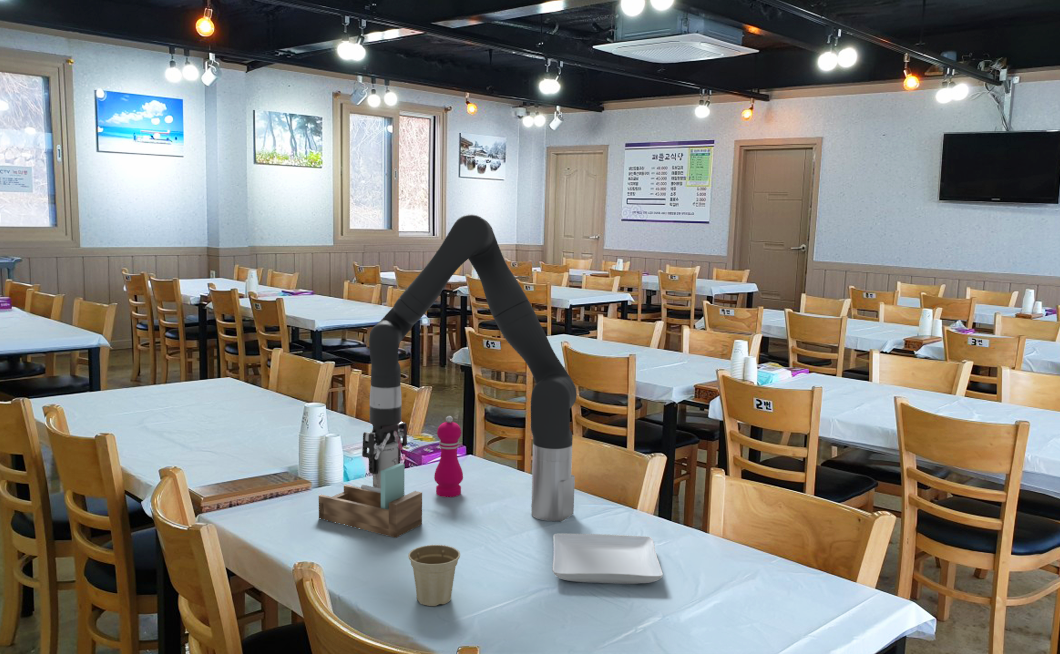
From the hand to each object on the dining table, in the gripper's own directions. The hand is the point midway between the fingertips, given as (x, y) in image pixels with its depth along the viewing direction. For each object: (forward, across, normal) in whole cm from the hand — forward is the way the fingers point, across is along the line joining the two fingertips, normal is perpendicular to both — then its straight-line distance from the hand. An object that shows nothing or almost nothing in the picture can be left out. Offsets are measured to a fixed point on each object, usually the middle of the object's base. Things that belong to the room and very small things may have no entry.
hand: (385, 469), depth 207 cm
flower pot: (+8, -37, -40) cm, 55 cm away
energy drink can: (+9, 0, 0) cm, 9 cm away
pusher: (+6, -12, -8) cm, 16 cm away
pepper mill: (+8, +14, -9) cm, 19 cm away
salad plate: (+8, -7, -61) cm, 62 cm away
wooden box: (+8, -12, -5) cm, 16 cm away
